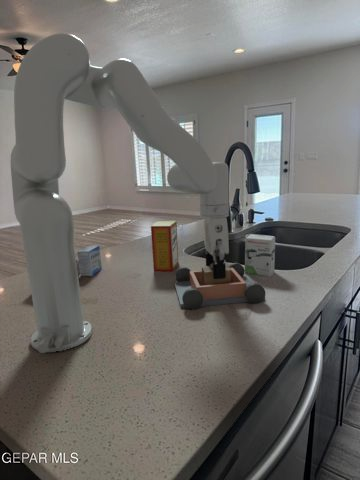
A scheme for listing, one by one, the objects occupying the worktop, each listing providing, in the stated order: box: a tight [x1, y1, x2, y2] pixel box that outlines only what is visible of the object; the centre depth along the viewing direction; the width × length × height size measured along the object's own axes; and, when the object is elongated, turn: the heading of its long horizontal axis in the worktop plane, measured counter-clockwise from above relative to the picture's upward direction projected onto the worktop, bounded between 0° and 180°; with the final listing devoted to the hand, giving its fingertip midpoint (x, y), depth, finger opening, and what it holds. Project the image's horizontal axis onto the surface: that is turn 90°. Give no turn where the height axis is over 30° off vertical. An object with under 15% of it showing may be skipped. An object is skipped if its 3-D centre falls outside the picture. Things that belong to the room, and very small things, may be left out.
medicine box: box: [77, 245, 103, 277], centre depth 114 cm, size 8×4×9 cm, turn 168°
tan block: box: [201, 263, 231, 286], centre depth 92 cm, size 5×7×7 cm
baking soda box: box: [150, 220, 180, 273], centre depth 115 cm, size 10×6×16 cm
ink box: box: [244, 233, 276, 277], centre depth 106 cm, size 9×5×12 cm, turn 61°
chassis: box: [173, 262, 266, 310], centre depth 92 cm, size 19×22×5 cm
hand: (215, 272), depth 92 cm, fingers open, 9 cm apart
